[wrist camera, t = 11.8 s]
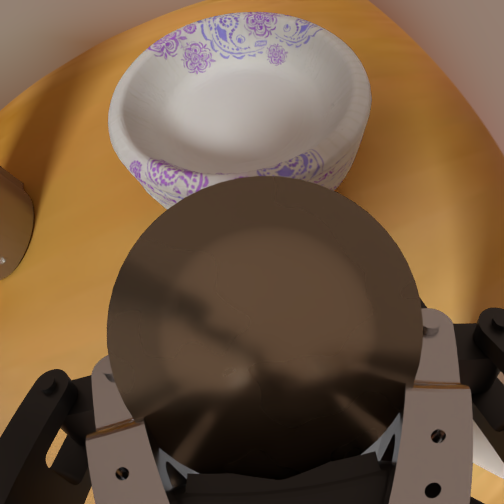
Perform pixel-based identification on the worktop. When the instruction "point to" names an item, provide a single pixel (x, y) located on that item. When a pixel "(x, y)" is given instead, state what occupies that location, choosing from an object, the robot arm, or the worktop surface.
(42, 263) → the worktop surface
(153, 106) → the paper bowls
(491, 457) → the cylindrical container
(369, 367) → the tea tin
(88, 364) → the worktop surface
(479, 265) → the worktop surface
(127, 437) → the robot arm
